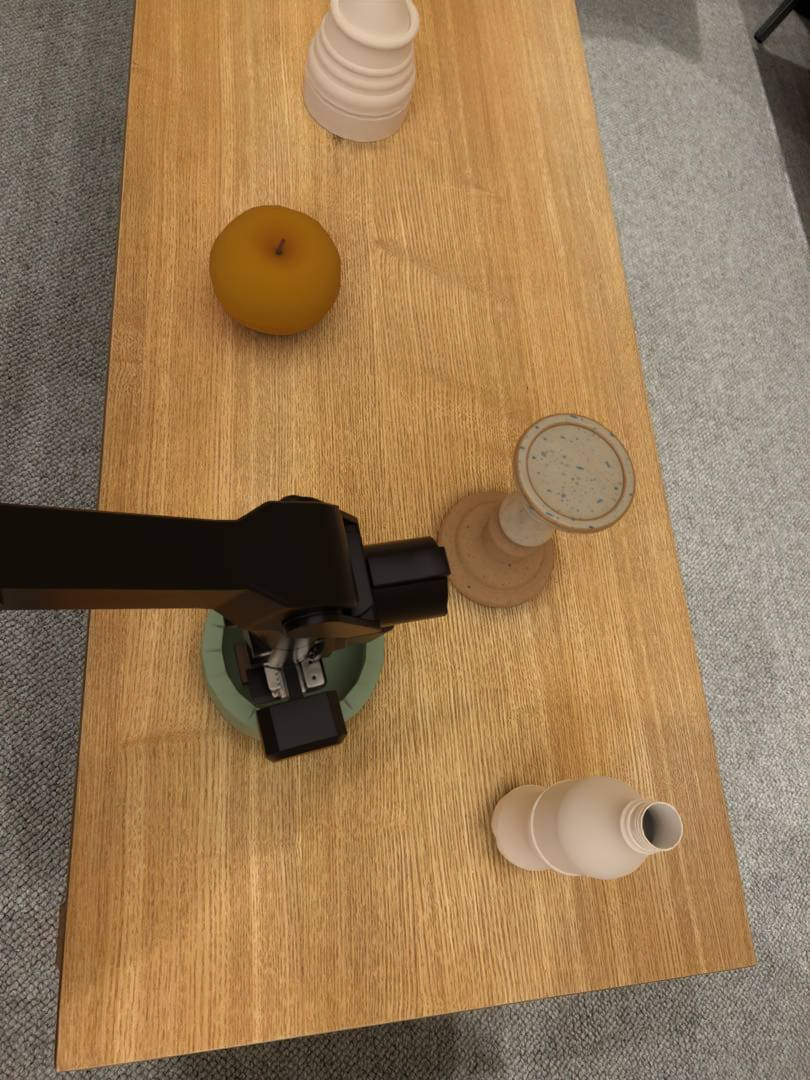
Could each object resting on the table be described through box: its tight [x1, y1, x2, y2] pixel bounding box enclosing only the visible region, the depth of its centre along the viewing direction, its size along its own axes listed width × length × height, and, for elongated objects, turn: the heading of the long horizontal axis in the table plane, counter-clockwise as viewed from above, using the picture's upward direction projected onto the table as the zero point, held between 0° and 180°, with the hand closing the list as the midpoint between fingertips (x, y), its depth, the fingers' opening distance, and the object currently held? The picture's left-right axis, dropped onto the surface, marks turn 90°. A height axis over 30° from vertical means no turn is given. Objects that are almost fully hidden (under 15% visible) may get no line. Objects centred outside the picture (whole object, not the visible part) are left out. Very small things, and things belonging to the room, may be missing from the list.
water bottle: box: [490, 774, 684, 881], centre depth 63 cm, size 7×7×25 cm
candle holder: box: [437, 412, 637, 609], centre depth 73 cm, size 12×12×20 cm
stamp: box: [234, 642, 250, 686], centre depth 70 cm, size 6×4×7 cm, turn 106°
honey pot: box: [301, 0, 421, 143], centre depth 90 cm, size 13×13×18 cm
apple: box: [208, 204, 342, 336], centre depth 81 cm, size 13×13×11 cm
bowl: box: [200, 609, 385, 742], centre depth 71 cm, size 15×15×7 cm
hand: (271, 654), depth 70 cm, fingers closed on stamp, 2 cm apart
